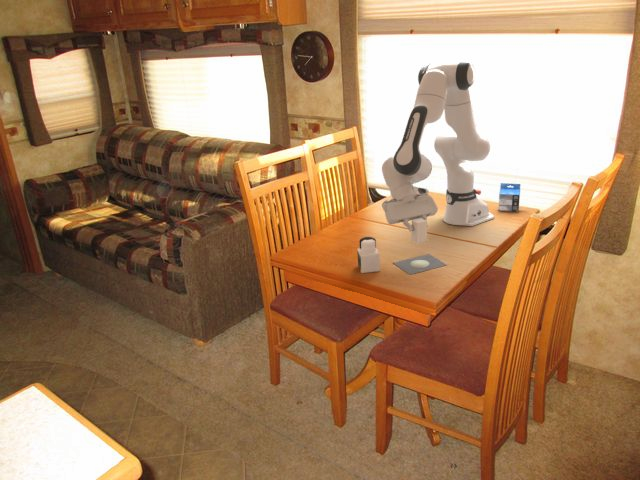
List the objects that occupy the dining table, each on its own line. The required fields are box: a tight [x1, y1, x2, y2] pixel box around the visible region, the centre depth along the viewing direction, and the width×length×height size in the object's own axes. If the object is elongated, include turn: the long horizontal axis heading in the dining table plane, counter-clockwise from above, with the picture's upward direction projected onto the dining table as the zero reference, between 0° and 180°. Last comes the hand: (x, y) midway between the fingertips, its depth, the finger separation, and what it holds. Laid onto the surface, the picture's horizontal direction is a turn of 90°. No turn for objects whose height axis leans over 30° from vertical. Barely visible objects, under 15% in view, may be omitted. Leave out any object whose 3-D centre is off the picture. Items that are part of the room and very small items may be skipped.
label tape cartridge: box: [497, 182, 521, 213], centre depth 242 cm, size 9×4×12 cm, turn 67°
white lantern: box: [356, 236, 381, 274], centre depth 195 cm, size 7×7×12 cm
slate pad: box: [393, 253, 448, 275], centre depth 197 cm, size 16×12×1 cm
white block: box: [411, 218, 428, 245], centre depth 192 cm, size 4×4×8 cm
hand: (419, 229), depth 192 cm, fingers closed on white block, 4 cm apart
